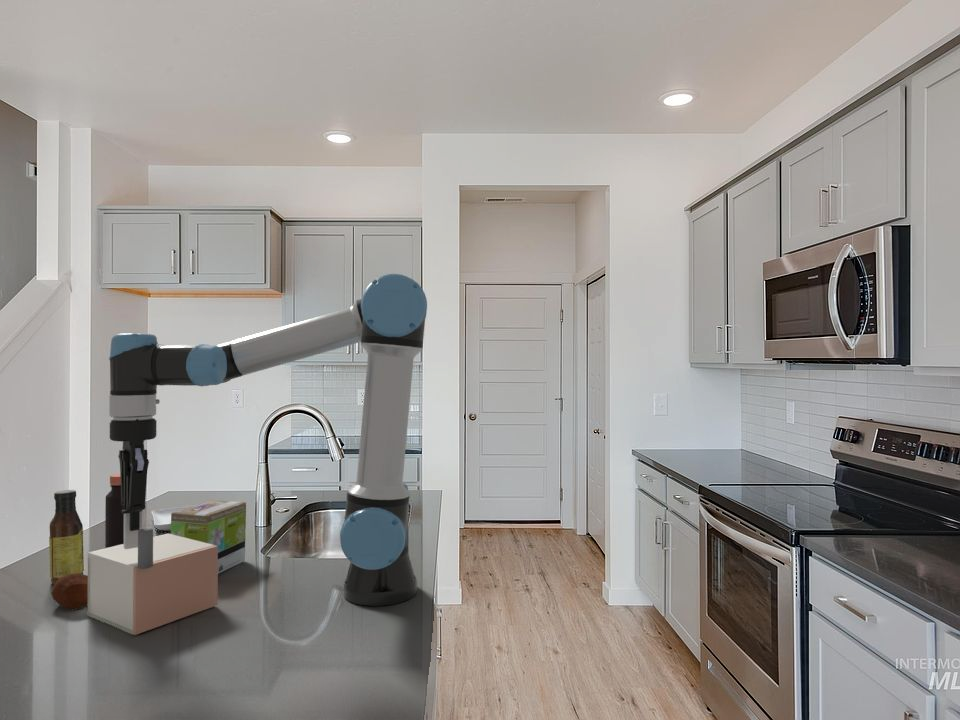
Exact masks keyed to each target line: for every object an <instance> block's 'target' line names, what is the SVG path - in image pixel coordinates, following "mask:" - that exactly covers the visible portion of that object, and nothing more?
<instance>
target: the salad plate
mask: <svg viewBox="0 0 960 720" xmlns="http://www.w3.org/2000/svg"><path fill="white" fill-rule="evenodd" d="M195 505H196V504H195ZM195 505H192V504H191V505H185V506H178V507H170V508H162V509H154V510H151V515H152V517H153V526H154V527H155V528H156V529H157V530H159V531H165V532H171V513H173V512H176V511H180V510H183V509H186V508H189V507H192V506H195Z"/></svg>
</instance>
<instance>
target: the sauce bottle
mask: <svg viewBox="0 0 960 720" xmlns="http://www.w3.org/2000/svg"><path fill="white" fill-rule="evenodd" d="M53 494H54V496H53V499H54V501H55V510H54V512H55V513H54V516H53V517H52V519H51V521H50V522H49V537H48V538H49V539H48V542H49V546H48V547H49V578H50V582H51V583H50V584H52V585H53V586H54V584H55V582H56V581H57V580H58V579H60V578H61V577H63V576H66V575H69V574H76V573H80V574H84V571H85V569H84V568H85V563H84V562H85V561H84V559H85V558H84V527H83V526H84V525H83V523H82V520H81V518H80V516H79V514H78V511H77V507H76V505H77V504H76V497H77V490H75V489H68V490H67V489H65V490H64V489H63V490H60V491H55V492H54V493H53Z"/></svg>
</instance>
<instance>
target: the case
mask: <svg viewBox="0 0 960 720" xmlns="http://www.w3.org/2000/svg"><path fill="white" fill-rule="evenodd" d="M212 546H215V545H212V544H208V543H204V542H200V541H196V540H192V539H188V538H184V537H180V536H176V535H172V534H171V533H165V534H159V535H156V536H153V562H157V561H160V560H164V559H168V558H171V557H175V556H179V555H182V554H186V553H190V552H193V551H197V550H201V549H204V548H208V547H212ZM135 567H138V547H137V548H131V549H124V544H121V545H117V546H113V547H109V548H102V549H101V548H100V549H97V550H93V551H88V552H87V576H88V604H87V617H90V618H93V619H94V618H95V620H97V621H99V620H100V621H99V622H101V623H104V622H105V623H104V624H106V623H107V625H109V624H110V625H109V626H111V625H112V626H111V627H113V626H115V627H114V628H116V627H117V628H116V629H118V628H119V629H118V630H120V629H121V631H123V632H125V633H128V634H130V635H133V636H134V634H133V568H135Z"/></svg>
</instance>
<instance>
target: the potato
mask: <svg viewBox="0 0 960 720" xmlns="http://www.w3.org/2000/svg"><path fill="white" fill-rule="evenodd" d="M51 596H52V597H51V598H52V599H53V600H54V602H56V604H58V605H59V606H61V607H62V608H64V609H67V610H72V609H73V611H74V610H79V609H81V608H84V607H86V606H88V574H87V575H86V574H84V573H83V574H80V573H76V574H69V575H66V576H63V577H61V578H60V579H58V580H57V581H56V582H55V584H54V585H53V586H52V590H51Z"/></svg>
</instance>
